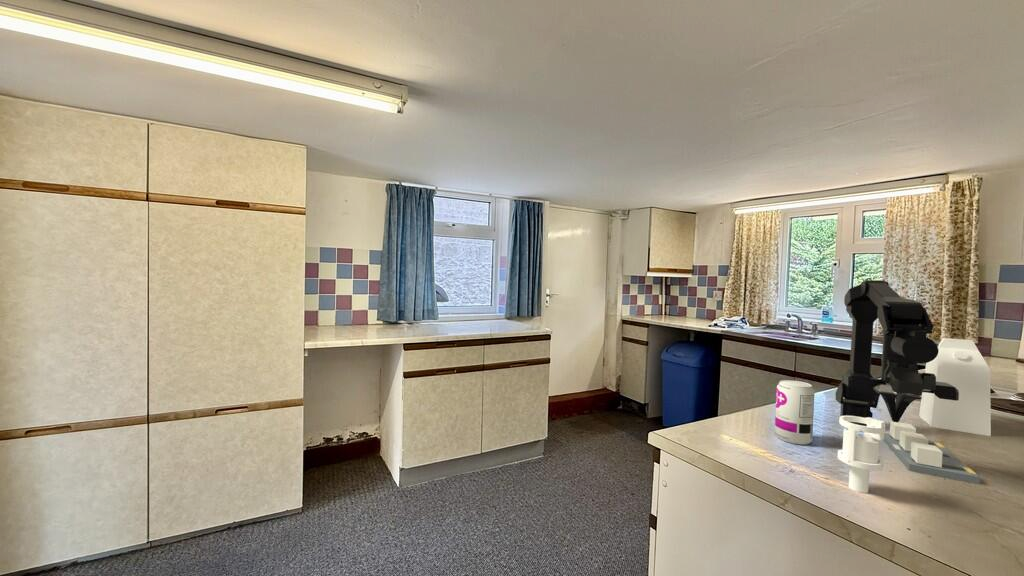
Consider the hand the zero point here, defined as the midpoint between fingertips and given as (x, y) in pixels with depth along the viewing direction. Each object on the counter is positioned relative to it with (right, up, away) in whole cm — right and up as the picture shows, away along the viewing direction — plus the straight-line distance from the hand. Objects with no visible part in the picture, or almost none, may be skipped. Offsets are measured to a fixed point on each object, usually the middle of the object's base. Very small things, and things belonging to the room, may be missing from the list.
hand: (895, 421), depth 95 cm
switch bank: (+10, -10, +3) cm, 15 cm away
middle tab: (+8, -8, +4) cm, 13 cm away
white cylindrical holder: (-19, -10, -12) cm, 25 cm away
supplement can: (-15, -9, +13) cm, 22 cm away
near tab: (+4, -8, -3) cm, 10 cm away
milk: (+43, -10, +27) cm, 52 cm away
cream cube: (+12, -8, +11) cm, 19 cm away
